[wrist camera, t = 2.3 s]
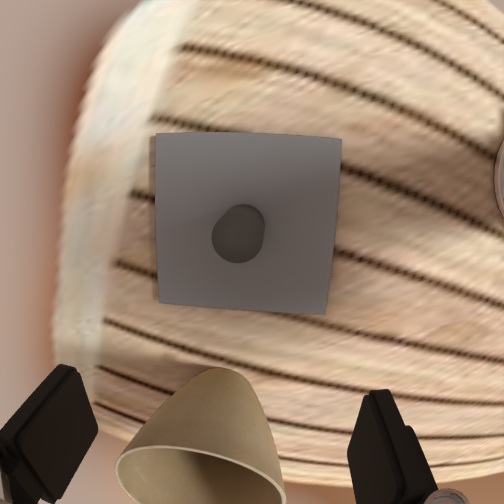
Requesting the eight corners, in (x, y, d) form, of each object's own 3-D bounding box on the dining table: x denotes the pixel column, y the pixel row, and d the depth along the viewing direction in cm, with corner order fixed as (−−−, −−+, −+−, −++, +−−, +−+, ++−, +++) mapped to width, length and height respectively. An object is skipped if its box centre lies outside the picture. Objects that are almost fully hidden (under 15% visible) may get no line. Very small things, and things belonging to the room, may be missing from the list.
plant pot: (311, 385, 35) (323, 497, 20) (234, 444, 39) (219, 540, 24) (206, 312, 34) (161, 418, 18) (142, 388, 37) (93, 480, 22)
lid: (161, 134, 30) (134, 129, 23) (338, 139, 29) (354, 135, 22) (163, 297, 34) (142, 325, 28) (323, 308, 33) (332, 340, 27)
